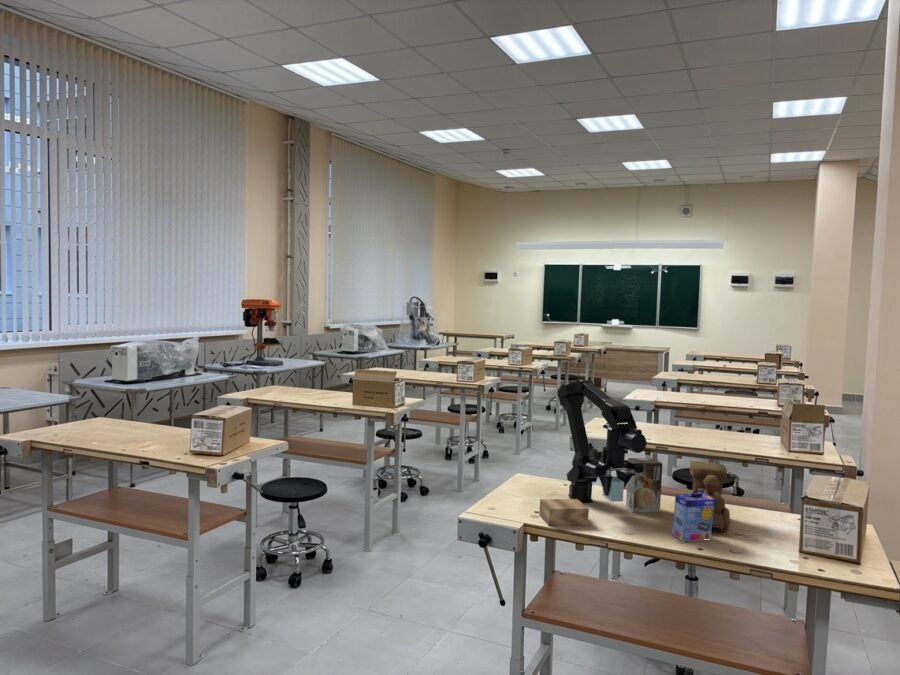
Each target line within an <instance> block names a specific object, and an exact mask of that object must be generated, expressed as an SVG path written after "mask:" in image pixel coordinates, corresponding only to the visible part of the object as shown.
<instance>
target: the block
mask: <svg viewBox="0 0 900 675" xmlns="http://www.w3.org/2000/svg"><path fill="white" fill-rule="evenodd" d="M624 490H625V488H624V482H623V481H622V480H620V479H619V478H618V476H612V481H611V485H610V490H609V494H608V496H605V494H604V491H603V490H602V494H601V495H602V496H603V497H604V498H605V499H606V500H608V501H609V502H611V503H612V502H613V503H614V502H615V503H616V502H624Z"/></svg>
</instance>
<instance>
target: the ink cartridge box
mask: <svg viewBox="0 0 900 675" xmlns="http://www.w3.org/2000/svg"><path fill="white" fill-rule="evenodd" d="M696 492H701V493H696ZM703 492H704V490H694V491H693V490H692V492H691V494H690V493H678V494H675V495H674V496H675V500H674V510H673V519H672V520H673V521H672V530H671V532H672V533H671V535H672V536H673V537H675V538H676V537H677V538H676V539H678V540H679V539H680V540H682V541H690V542H695V541H694V540H704V539H710V540H711V539H712V529H713V526H712V521H713V512H714V503H715V499H713V498H712V497H710V496H708V495H705V494H703ZM680 540H679V541H680ZM682 541H681V542H682ZM704 541H705V540H704Z"/></svg>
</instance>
